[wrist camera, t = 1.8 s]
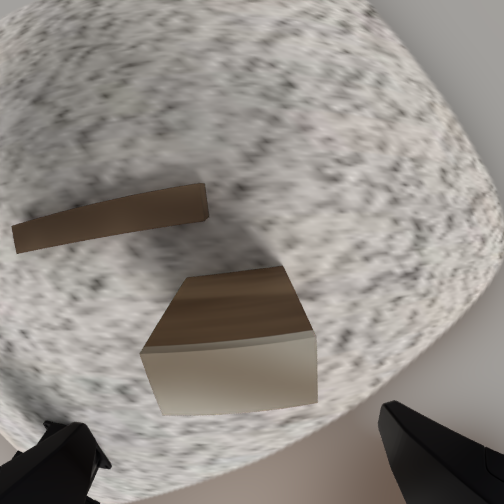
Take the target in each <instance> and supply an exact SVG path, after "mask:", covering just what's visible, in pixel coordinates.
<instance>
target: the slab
mask: <svg viewBox="0 0 504 504" xmlns="http://www.w3.org/2000/svg"><path fill="white" fill-rule="evenodd" d="M140 357H141V360H142V363H143V365H144V368H145V371H146V374H147V377H148V379H149V382H150V385H151V387H152V390H153V393H154V395H155V398H156V400H157V403H158V405H159V408H160V410H161V412H162V415H163V416H198V415H222V414H237V413H249V412H259V411H268V410H276V409H283V408H290V407H297V406H303V405H309V404H314V403H318V388H317V341H316V335H315V333H314V331H313V328H312V326H311V324H310V322H309V320H308V318H307V316H306V313H305V311H304V309H303V307H302V305H301V303H300V301H299V298H298V296H297V294H296V292H295V290H294V288H293V286H292V284H291V281H290V279H289V277H288V275H287V273H286V271H285V269H284V267H283V266H277V267H270V268H262V269H254V270H246V271H238V272H230V273H222V274H213V275H205V276H197V277H188V278H186V279H185V281H184V282H183V284H182V286H181V287H180V289H179V290H178V292H177V293H176V295H175V297H174V298H173V300H172V301H171V303H170V305H169V306H168V308H167V309H166V311H165V313H164V314H163V316H162V318H161V319H160V321H159V322H158V324H157V326H156V327H155V329H154V331H153V332H152V334H151V336H150V337H149V339H148V341H147V342H146V344H145V346H144V347H143V349H142V351H141V352H140Z"/></svg>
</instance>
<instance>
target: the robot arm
mask: <svg viewBox="0 0 504 504" xmlns="http://www.w3.org/2000/svg"><path fill="white" fill-rule="evenodd" d="M43 425H44V426H45V428H46V429H47V430H46V432H45V433H44V435H43V436H42V438H41V439H40V441H39V442H38V444H37V445H36V446H34V447H32V448H31V449H29V450H27V451H26V452H24V453H22V452H20V451H17V452H16V454H15V455H14V457H13V458H12V460H10V461H8V462H7V463H5V464H3V465H2V466H0V504H100V502H98V501H96V500H93V499H92V498H90V497H88V496H87V494H88V491H89V489H90V487H91V484H92V482H93V480H94V478H95V475H96V473H97V471H98V468H99V467H100V468H104V469H111V467H112V465H111V464H110V462H109V461H108V460H107V458H106V457H105V455H104V454H103V452H102V451H101V449H100V448H99V446H98V445H97V443H96V440H95V438H94V436H93V435H92V433H91V431H90V430H89V428H88V426H87V425H86V424H84V423H80V422H73V423H71V424H70V425H68V426H67V425H63V424H58V423H54V422H50V421H44V423H43ZM378 428H379V432H380V435H381V438H382V441H383V444H384V448H385V451H386V454H387V457H388V461H389V464H390V467H391V470H392V472H393V474H394V476H395V479H396V481H397V483H398V486H399V488H400V490H401V492H402V495H403V497H404V499H405V501H406V504H504V454H501V453H499V452H497V451H494V450H492V449H490V448H488V447H485V448H484V446H483V445H481V444H479V443H477V442H475V441H473V440H471V439H469V438H467V437H465V436H462V435H461V434H459V433H457V432H454V431H453V430H450V429H449V428H447V427H445V426H443V425H441V424H439V423H437V422H435V421H433V420H431V419H429V418H427V417H426V416H424V415H422V414H420V413H418V412H416V411H414V410H412V409H410V408H409V407H407V406H405V405H404V404H401V403H400V402H398V401H395V400H393V401H390V402H387V403H384V404H382V406H381V410H380V415H379V420H378Z"/></svg>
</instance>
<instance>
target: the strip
mask: <svg viewBox="0 0 504 504" xmlns="http://www.w3.org/2000/svg"><path fill="white" fill-rule="evenodd" d="M208 218H209V212H208V205H207V197H206V190H205V184H203V183H197V184H191V185H185V186H179V187H173V188H167V189H162V190H156V191H151V192H146V193H141V194H136V195H131V196H126V197H121V198H117V199H112V200H108V201H103V202H99V203H95V204H90V205H86V206H82V207H78V208H74V209H70V210H66V211H62V212H58V213H55V214H51V215H47V216H44V217H40V218H37V219H33V220H30V221H26V222H23V223H20V224H16V225H13V226H12V232H13V238H14V243H15V248H16V253H17V254H19V253H24V252H29V251H34V250H38V249H43V248H48V247H53V246H58V245H63V244H69V243H74V242H79V241H85V240H90V239H96V238H101V237H107V236H112V235H118V234H124V233H130V232H136V231H142V230H148V229H154V228H161V227H167V226H174V225H180V224H187V223H194V222H201V221H205V220H206V219H208Z"/></svg>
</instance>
